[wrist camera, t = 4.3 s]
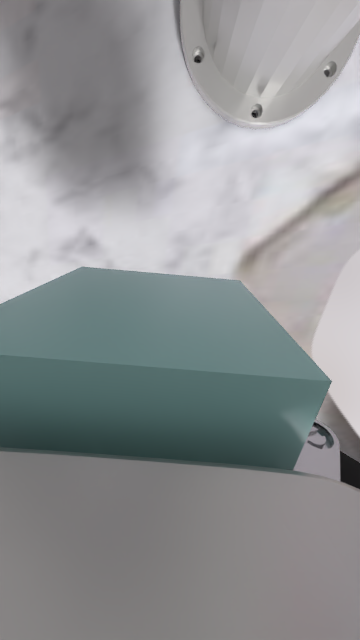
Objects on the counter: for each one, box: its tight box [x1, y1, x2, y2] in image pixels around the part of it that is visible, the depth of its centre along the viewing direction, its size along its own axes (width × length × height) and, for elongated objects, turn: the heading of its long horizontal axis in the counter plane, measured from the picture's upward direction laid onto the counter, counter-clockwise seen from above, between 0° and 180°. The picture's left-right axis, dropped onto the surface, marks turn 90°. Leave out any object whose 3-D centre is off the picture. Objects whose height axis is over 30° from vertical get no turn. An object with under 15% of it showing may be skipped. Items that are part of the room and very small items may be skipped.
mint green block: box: [0, 267, 332, 470], centre depth 9 cm, size 8×8×8 cm
